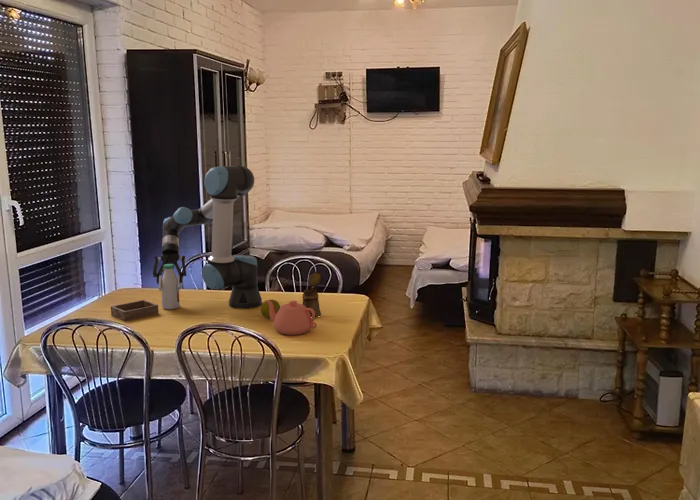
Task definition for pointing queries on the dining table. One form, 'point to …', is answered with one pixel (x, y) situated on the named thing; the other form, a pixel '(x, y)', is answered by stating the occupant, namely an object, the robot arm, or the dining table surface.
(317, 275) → the dark brown tall piece
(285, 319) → the teapot
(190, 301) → the dining table surface
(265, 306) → the lemon
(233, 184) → the robot arm
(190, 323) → the dining table surface
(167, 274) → the milk bottle
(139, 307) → the tray
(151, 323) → the dining table surface
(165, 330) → the dining table surface
